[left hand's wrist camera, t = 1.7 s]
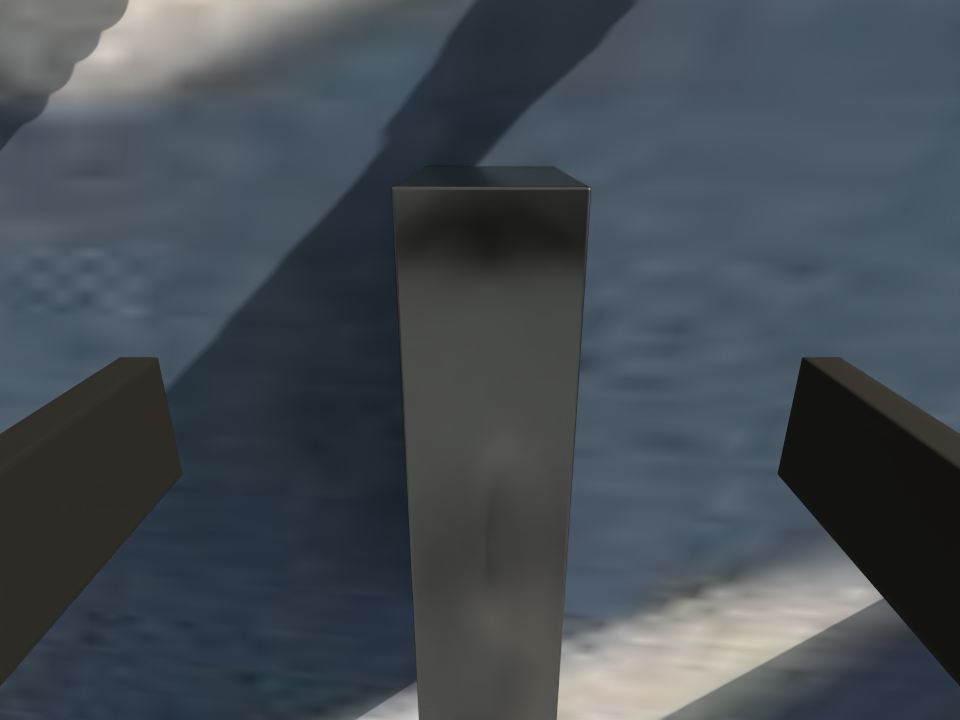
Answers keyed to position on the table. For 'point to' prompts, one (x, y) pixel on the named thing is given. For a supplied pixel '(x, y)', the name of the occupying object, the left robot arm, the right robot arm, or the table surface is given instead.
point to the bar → (489, 427)
